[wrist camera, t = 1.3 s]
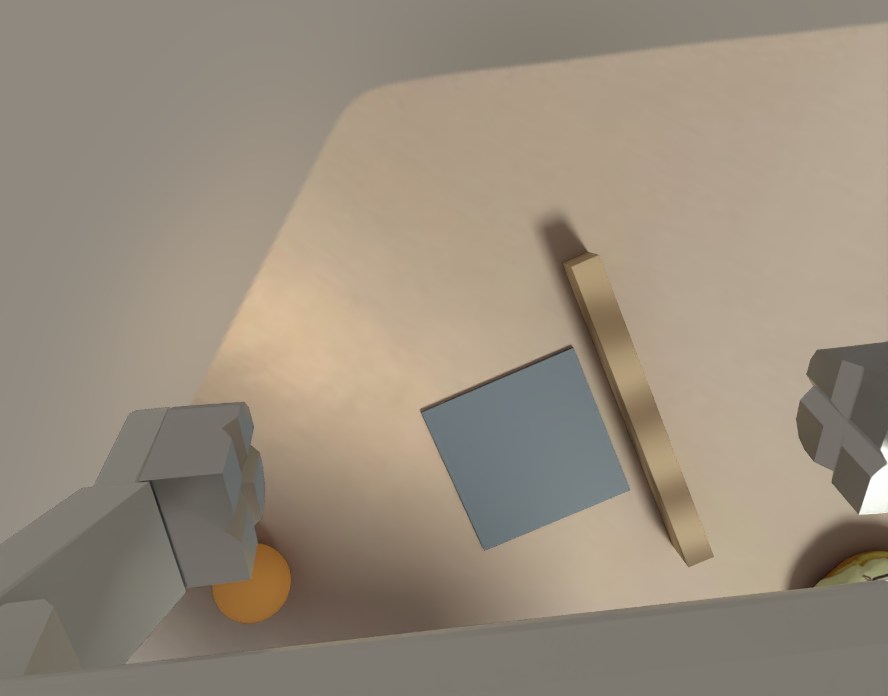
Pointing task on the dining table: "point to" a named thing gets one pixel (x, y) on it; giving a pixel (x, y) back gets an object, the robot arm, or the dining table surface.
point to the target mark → (527, 449)
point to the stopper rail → (637, 406)
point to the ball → (256, 589)
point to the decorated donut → (858, 569)
